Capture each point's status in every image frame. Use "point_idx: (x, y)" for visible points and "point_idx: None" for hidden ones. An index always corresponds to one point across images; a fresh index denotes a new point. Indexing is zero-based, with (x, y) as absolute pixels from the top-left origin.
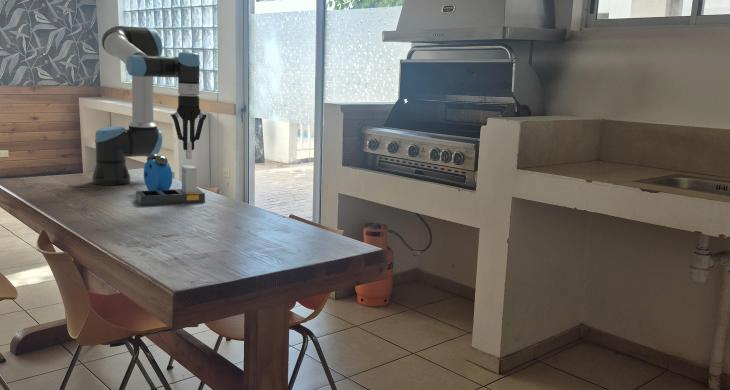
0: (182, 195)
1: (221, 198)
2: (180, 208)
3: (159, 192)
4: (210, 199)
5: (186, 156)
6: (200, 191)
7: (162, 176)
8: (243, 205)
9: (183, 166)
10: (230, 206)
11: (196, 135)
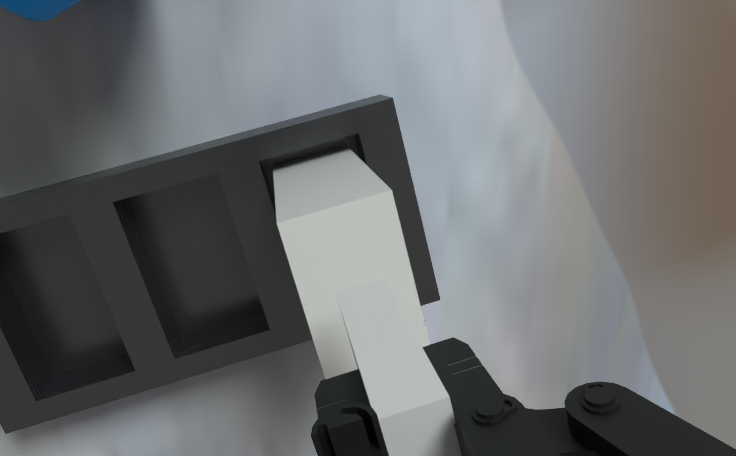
0: (290, 343)
1: (534, 141)
2: (285, 446)
3: (112, 279)
4: (462, 177)
5: (347, 333)
6: (412, 225)
7: (60, 1)
8: (630, 348)
9: (300, 280)
10: (559, 377)
11: (629, 451)
